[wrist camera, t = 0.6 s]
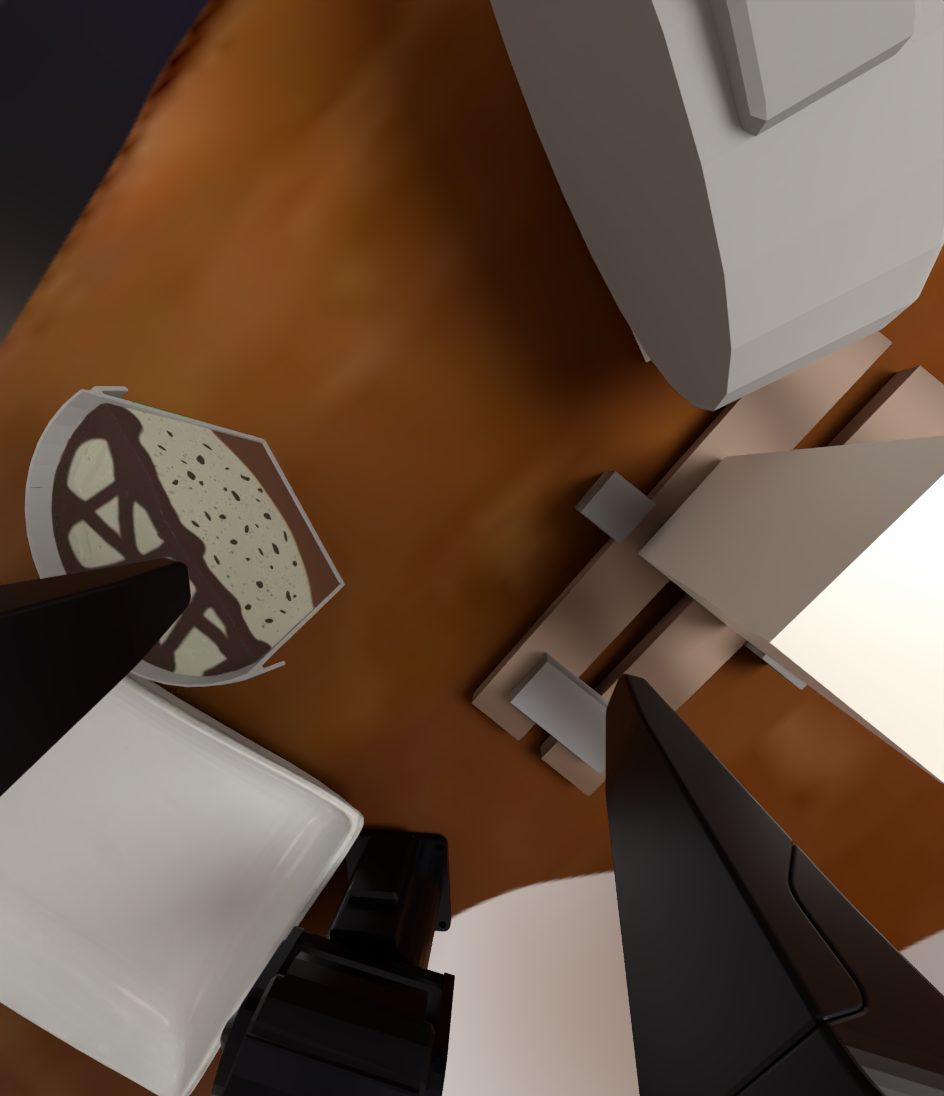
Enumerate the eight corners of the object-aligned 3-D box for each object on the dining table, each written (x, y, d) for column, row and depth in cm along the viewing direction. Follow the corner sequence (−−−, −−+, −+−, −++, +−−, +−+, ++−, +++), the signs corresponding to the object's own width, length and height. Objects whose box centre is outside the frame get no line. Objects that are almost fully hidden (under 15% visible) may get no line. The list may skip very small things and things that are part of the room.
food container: (167, 466, 26) (-52, 460, 16) (251, 414, 25) (72, 374, 15) (272, 649, 27) (128, 748, 17) (357, 607, 26) (255, 687, 16)
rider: (722, 622, 23) (968, 802, 10) (633, 550, 23) (769, 642, 10) (810, 533, 22) (1210, 613, 9) (716, 457, 22) (988, 430, 9)
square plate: (215, 1046, 33) (175, 1120, 29) (-89, 852, 34) (-167, 901, 30) (386, 782, 28) (364, 831, 24) (23, 555, 28) (-55, 568, 24)
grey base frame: (618, 808, 26) (631, 850, 23) (440, 665, 26) (429, 690, 23) (993, 450, 21) (1071, 446, 18) (774, 270, 21) (816, 236, 18)
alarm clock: (782, 369, 21) (1148, 218, 9) (659, 429, 22) (832, 370, 10) (580, -126, 19) (687, -1251, 7) (455, -33, 20) (346, -856, 8)
